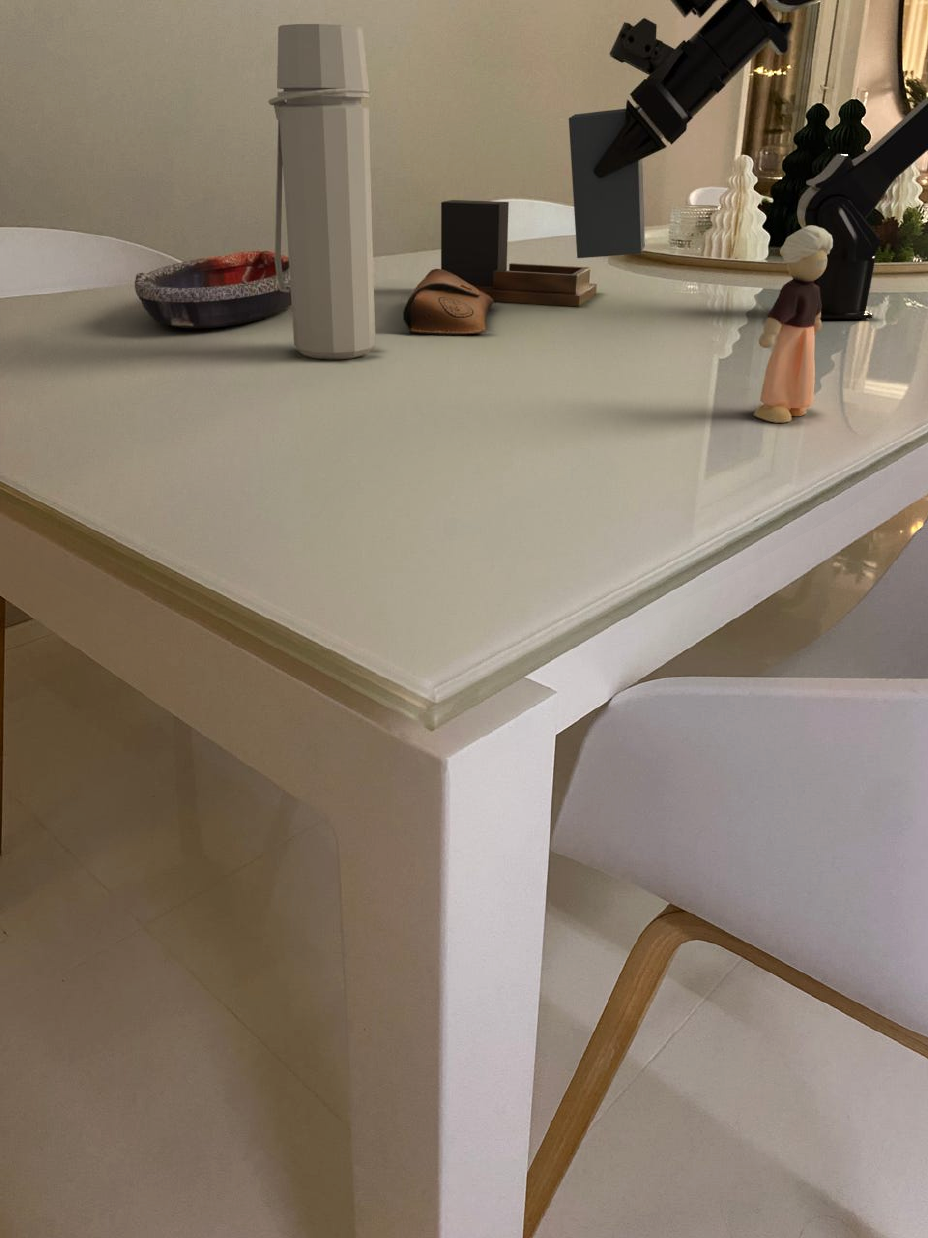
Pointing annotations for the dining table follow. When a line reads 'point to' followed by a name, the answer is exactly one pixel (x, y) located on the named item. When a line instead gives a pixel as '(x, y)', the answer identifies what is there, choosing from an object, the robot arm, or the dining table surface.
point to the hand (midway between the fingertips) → (597, 173)
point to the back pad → (604, 189)
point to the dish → (215, 290)
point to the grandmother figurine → (794, 328)
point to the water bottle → (325, 188)
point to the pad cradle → (503, 259)
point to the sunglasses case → (446, 306)
